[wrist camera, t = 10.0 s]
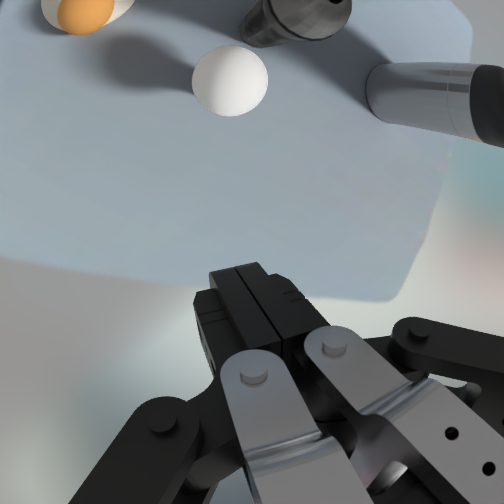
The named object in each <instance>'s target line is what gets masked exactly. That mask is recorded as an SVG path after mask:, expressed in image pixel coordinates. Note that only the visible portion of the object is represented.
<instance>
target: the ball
mask: <svg viewBox="0 0 504 504" xmlns="http://www.w3.org/2000/svg"><path fill="white" fill-rule="evenodd" d="M113 9H114V0H62V1H61V2H60V4H59V7H58V11H57V19H58V23H59V25H60V26H61V28H62V29H63V30H64V31H66V32H67V33H69V34H73V35H86V34H90V33H92V32H95V31H97V30H98V29H100V28H101V27H102V26H103V25H104V24H105V23H106V22H107V21H108V20H109V18H110V17H111V15H112V12H113Z"/></svg>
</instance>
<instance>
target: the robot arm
mask: <svg viewBox="0 0 504 504" xmlns="http://www.w3.org/2000/svg"><path fill="white" fill-rule="evenodd" d="M366 94H367V99H368V103H369V105H370V108H371V110H372V111H373V113H374V114H375V115H376V116H377V117H378V118H379V119H380V120H382V121H384V122H387V123H393V124H399V125H405V126H410V127H416V128H421V129H426V130H431V131H436V132H441V133H446V134H450V135H454V136H459V137H463V138H468V139H471V140H475V141H479V142H483V143H487V144H490V145H494V146H498V147H501V148H504V68H502V67H499V66H494V65H483V64H470V63H442V62H417V63H390V64H380V65H378V66H376V67H375V68H374V69H373V70H372V71H371V72H370V74H369V76H368V79H367V84H366ZM209 281H210V288H211V289H207V290H203V291H198V292H196V296H195V299H194V302H193V305H194V311H195V316H196V321H197V326H198V331H199V335H200V340H201V343H202V346H203V349H204V352H205V355H206V358H207V360H208V363H209V366H210V369H211V372H212V375H213V377H214V379H213V381H212V383H211V384H210V385H209V387H208V388H207V389H206V390H205V391H203V392H202V393H201V394H199V395H198V396H196V397H194V398H192V399H190V400H188V401H187V402H186V401H185V400H182V399H180V398H176V397H169V396H166V397H158V398H154V399H151V400H149V401H146V402H145V403H143V404H141V405H140V406H139V407H138V408H137V409H136V410H135V411H134V413H133V414H132V415H131V417H130V418H129V419H128V421H127V422H126V424H125V425H124V427H123V428H122V430H121V431H120V432H119V434H118V435H117V436H116V438H115V439H114V440H113V442H112V443H111V445H110V446H109V447H108V449H107V450H106V452H105V453H104V454H103V456H102V457H101V459H100V460H99V461H98V463H97V464H96V466H95V467H94V468H93V470H92V471H91V473H90V474H89V475H88V477H87V478H86V480H85V481H84V482H83V484H82V485H81V487H80V488H79V489H78V491H77V492H76V494H75V495H74V496H73V498H72V499H71V501H70V502H69V503H68V504H209V502H210V500H211V498H212V496H213V494H214V492H215V490H216V488H217V486H218V483H219V481H220V480H222V479H224V478H226V477H227V476H229V475H230V474H232V473H233V472H235V471H236V470H238V469H239V468H241V467H242V469H243V472H244V475H245V478H246V481H247V484H248V487H249V490H250V493H251V496H252V499H253V502H254V504H504V337H500V336H496V335H492V334H487V333H483V332H479V331H474V330H470V329H466V328H462V327H457V326H453V325H449V324H444V323H440V322H436V321H432V320H428V319H424V318H419V317H407V318H403V319H401V320H399V321H398V322H397V323H396V324H395V325H394V327H393V330H392V334H391V336H384V337H377V338H368V339H362V338H361V337H360V336H359V335H358V334H356V333H355V332H354V331H352V330H350V329H348V328H345V327H341V326H331V325H330V324H329V323H328V322H327V321H326V320H325V319H324V317H322V315H321V314H320V313H319V312H318V311H317V310H316V309H315V308H314V306H313V305H312V304H311V303H310V302H309V301H308V300H307V299H305V296H304V295H303V294H302V293H301V292H300V291H298V289H297V287H296V286H295V285H294V284H293V283H292V282H291V281H290V280H289V279H287V278H285V277H283V276H281V275H279V274H277V273H276V274H272V275H268V274H267V273H266V272H265V271H264V269H263V268H262V267H261V266H260V264H259V263H258V262H254V263H249V264H245V265H240V266H235V267H231V268H227V269H222V270H217V271H213V272H209ZM430 373H431V374H435V375H440V376H444V377H449V378H452V379H457V380H461V381H466V382H468V383H467V384H466V385H465V386H463V387H459V388H454V387H449V386H445V385H443V384H441V383H440V382H438V381H437V380H434V379H431V378H428V376H429V374H430ZM407 467H408V469H407Z"/></svg>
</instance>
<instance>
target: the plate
mask: <svg viewBox="0 0 504 504" xmlns="http://www.w3.org/2000/svg"><path fill="white" fill-rule="evenodd" d="M61 1H62V0H41V8H42V12H43V15H44V17H45V18H46V20H47V21H48V22H49V23H50V24H51V25H53V26H54V27H56V28H58V29H60V30H63V29H62V28H61V26H60V25H59V23H58V19H57V11H58V7H59V4H60V2H61ZM134 2H135V0H114V9H113V12H112V15H111V17H110V18H109V20H108V21H107V22H106V23H105V24H104V25H106V24H108V23H110V22H112V21H114V20H115V19H117V18H118V17H119V16H121V15H122V14H123V13H124V12H126V11H127V10H128V9H129V8H130V7H131V6H132V4H133V3H134ZM104 25H103V26H104ZM63 31H64V30H63Z"/></svg>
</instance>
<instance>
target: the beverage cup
mask: <svg viewBox="0 0 504 504" xmlns="http://www.w3.org/2000/svg"><path fill="white" fill-rule="evenodd" d="M351 11H352V1H351V0H260V1H259V2H258V3H257V4H256V5H255V7H254V8H253V9H252V10H251V11H250V12H249V13H248V15H247V16H246V17H245V19H244V20H243V21H242V23H241V25H240V34H241V37H242V38H243V40H244V41H245V42H246V43H247V44H248V45H250V46H252V47H256V48H264V47H271V46H276V45H280V44H285V43H289V42H294V41H306V40H308V41H320V40H324V39H326V38H328V37H331V36H332V35H333V34H334V33H336V32H338V31H339V30H340V29H341V28H342V27H343V26H344V25H345V24H346V23H347V21H348V19H349V16H350V14H351Z"/></svg>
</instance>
